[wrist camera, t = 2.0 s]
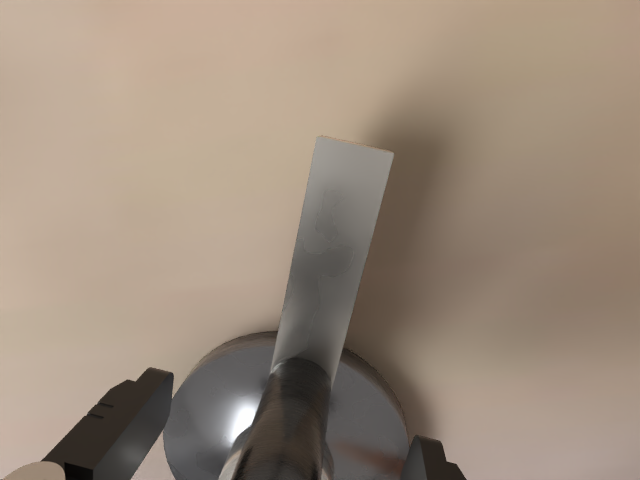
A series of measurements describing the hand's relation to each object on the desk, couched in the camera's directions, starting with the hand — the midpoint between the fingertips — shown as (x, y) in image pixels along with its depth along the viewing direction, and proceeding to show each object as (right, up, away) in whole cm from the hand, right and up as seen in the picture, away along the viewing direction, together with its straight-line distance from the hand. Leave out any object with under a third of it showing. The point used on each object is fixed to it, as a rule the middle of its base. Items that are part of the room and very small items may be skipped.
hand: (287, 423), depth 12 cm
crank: (0, 0, +4) cm, 4 cm away
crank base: (-1, -4, +7) cm, 8 cm away
